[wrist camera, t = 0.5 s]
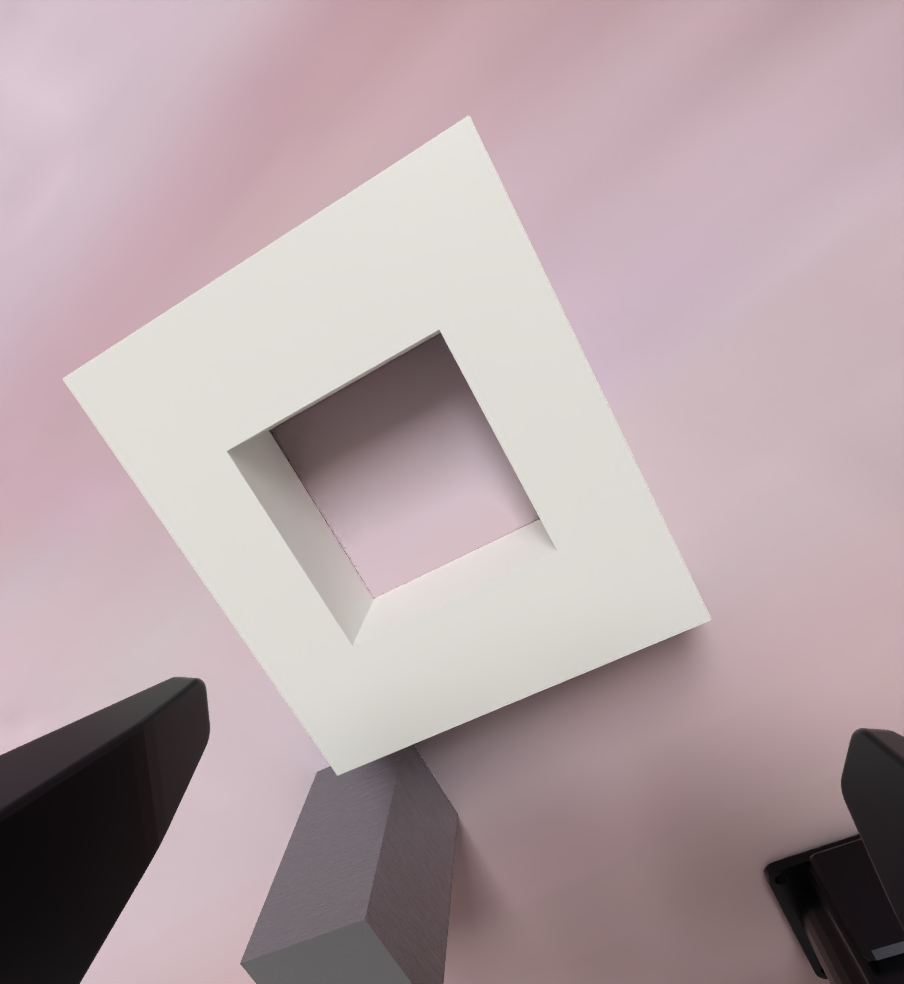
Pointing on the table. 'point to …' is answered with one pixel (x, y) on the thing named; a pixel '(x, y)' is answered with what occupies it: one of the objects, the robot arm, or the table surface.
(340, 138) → the table surface
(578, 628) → the square frame
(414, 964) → the dark grey square post
